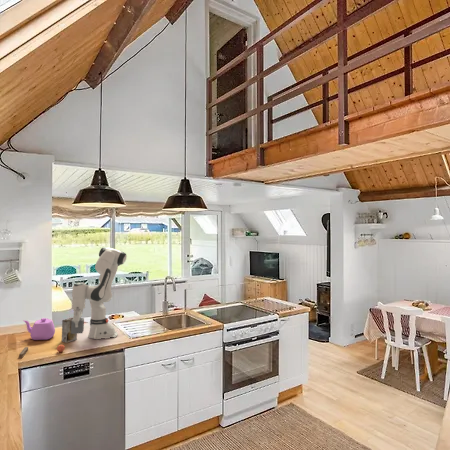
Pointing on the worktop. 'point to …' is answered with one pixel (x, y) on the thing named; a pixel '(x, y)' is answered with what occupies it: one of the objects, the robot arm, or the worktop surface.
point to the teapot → (41, 329)
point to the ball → (60, 348)
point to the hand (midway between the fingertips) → (77, 325)
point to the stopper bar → (23, 352)
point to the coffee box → (67, 331)
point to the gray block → (77, 329)
